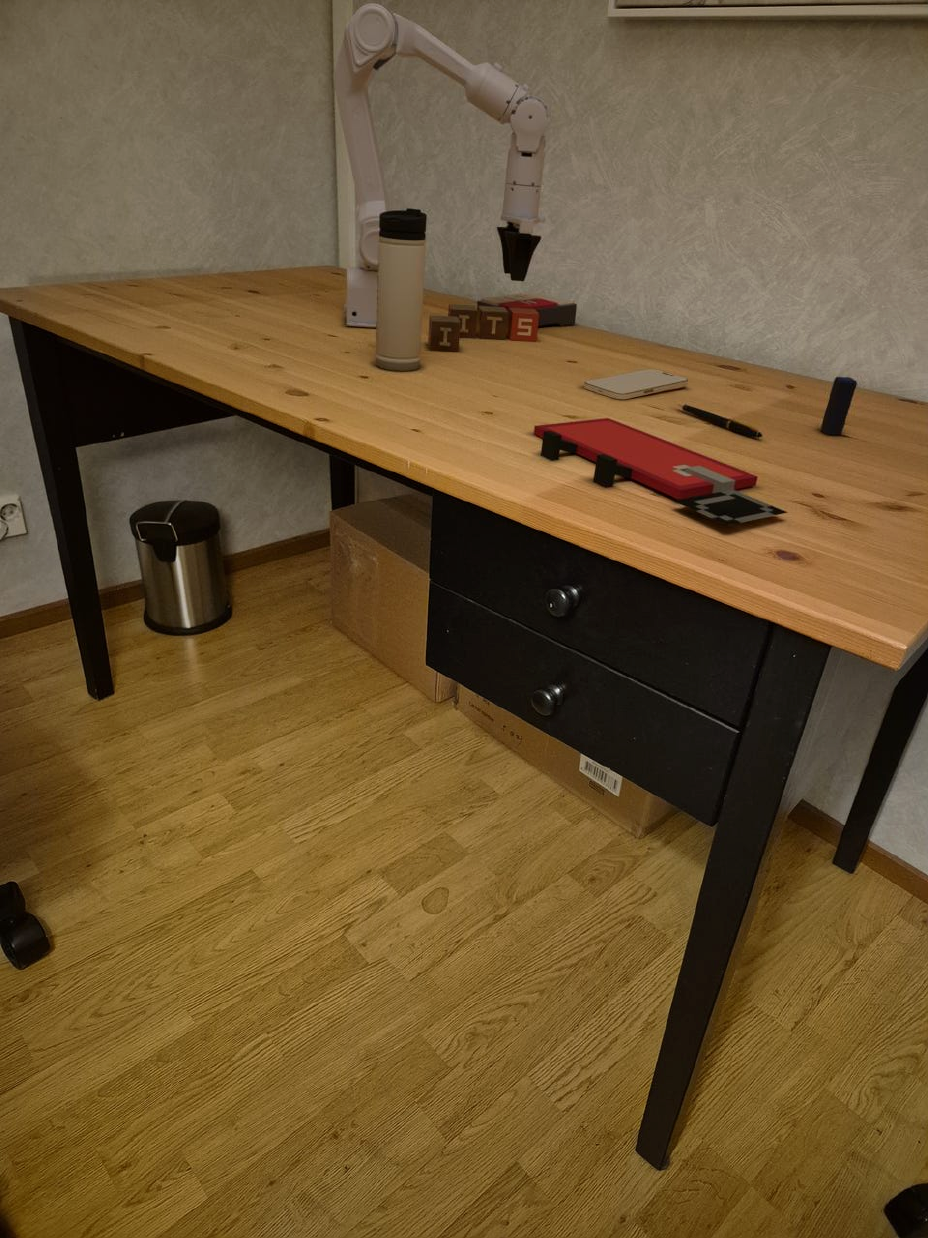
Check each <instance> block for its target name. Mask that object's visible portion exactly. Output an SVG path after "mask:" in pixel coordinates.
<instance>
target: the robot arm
mask: <svg viewBox="0 0 928 1238" xmlns="http://www.w3.org/2000/svg"><path fill="white" fill-rule="evenodd" d="M392 14H393V15H392ZM392 14H391V13H390V12H389V10H388V9H386V7H384V6H383V5H380V4H378V3H374V2H373V3H371V2H370V3H366V4H363V5H362V6H360V7H359V8H358V9H357V11H355V13H354V14H353V15H352V17H350V20H349V21H348V22H347V23H346V25H345V26H344V32H343V40H342V43H341V46H340V50H339V52H338V56H337V59H336V63H335V67H334V70H333V74H332V77H333V78H332V79H333V85H334V86H333V87H334V90H335V95H336V101H337V105H338V111H339V115H340V120H341V125H342V130H343V134H344V139H345V145H346V150H347V155H348V160H349V164H350V169H351V175H352V179H353V184H354V189H355V194H356V199H357V204H358V224H359V229H360V231H359V232H360V234H359V239H358V242H357V243H358V244H357V248H358V253H359V256H360V258H361V260H360V261H358V266H347V267H346V301H345V302H344V315H346V326H347V327H360V328H376V317H377V276H378V242H379V239H378V236H379V230H380V228H379V215H380V214H381V213H382V212H386V211H393V210H392V207H391V204H390V201H389V197H388V191H387V186H386V181H385V176H384V169H383V165H382V159H381V155H380V149H379V144H378V138H377V134H376V133H377V132H376V128H375V123H374V117H373V111H372V106H371V101H370V95H369V90H368V88H369V85H370V84H371V83H372V81H373V79H374V78H375V77H376V75H377V73H378V72H379V69H381V68H382V67H383V66H384V65H386V64H387V63H388V62H389V61H390V60H392V59H393V58H394V57H395V56H396V55H398V56H399V57H400V58H401V59H402V58H403V59H405V58H406V59H407V58H409V59H410V58H418V59H420V60H422V61H423V62H425V63H427V65H430V66H432V67H433V68H434V69H436V70H437V71H439V72H440V73H443V74H444V75H446V76H447V77H448V78H450V79H451V80H453V81H455V82H456V83H458V84H459V85H461V86H463V89H464V92H465V96H466V101H467V102H468V103H469V104H471V105H473V106H474V107H476V108H477V109H478V110H480V111H482V112H483V113H484V114H486V115H487V116H489V117H490V118H492V119H493V120H495V121H496V122H497V123H499V124H501V125H505V124H509V125H510V128H511V130H512V131H511V135H510V147H509V149H508V150H507V159H506V167H505V168H506V169H505V180H504V181H505V183H504V190H503V191H504V192H503V200H502V212H501V214H500V221H504V222H505V224H506V226H496V230H497V234H498V236H499V240H500V241H499V242H500V245H501V253H502V254H501V255H502V267H503V273H504V274H505V275H507V274H508V275H510V276H509V277H510V280H511V282H512V281H514V282H525V280H526V277H527V274H528V271H529V268H530V264H531V260H532V258H533V255H534V253H535V251H536V249H537V247H538V245H539V244H540V242H541V240H542V236H541V235H536V234H534V233H533V232H534V225H536V224H539V223H545V222H546V217H544V216H539V213H540V202H541V201H540V200H541V193H542V192H541V191H542V185H543V175H544V165H545V157H546V154H545V151H544V149H545V148H546V144H547V143H546V141H547V140H546V135H545V133H546V132H547V131H548V129H549V127H550V124H551V118H550V111H549V110H550V109H549V107H548V104H547V103H546V102H545V101H544V100H543V98H541V97H539V96H537V95H535V94H534V95H532V94H528V92H529V90H530V86H529V85H527V84H526V83H524V84H523V85H521V84H519V83H518V82H516V81H515V80H514V79H512V78H511V77H509V76H508V75H506V74H505V73H503V67H502V66H501V65H500V64H499V63H497V62H494V63H493V65H492V64H490V63H489V62H487V61H486V62H485V61H484V62H482V63H480V64H479V63H478V64H475V65H474V64H472V63H471V62H470V61H469V60H467V59H466V58H464V57H463V56H462V55H460V54H459V53H457V52H456V51H455V50H454V49H452V48H450V47H449V46H448V45H447V44H445V43H444V42H443V41H441V40H440V39H438V38H437V37H436V36H434V35H433V34H432V33H430V32H429V31H428V30H427V29H425V28H424V27H422V26H421V25H420V24H417V23H415V22H414V21H411V20H410V19H407V18H405V16H404V17H403V16H401V15H400V14H397V13H395V12H393V13H392ZM527 94H528V95H527Z"/></svg>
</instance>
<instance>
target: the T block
mask: <svg viewBox="0 0 928 1238" xmlns="http://www.w3.org/2000/svg"><path fill="white" fill-rule="evenodd" d="M507 321H508V311H507V310H506V309H505V308H504V307H490V306H479V307H478V318H477V331H476V335H477V336H478V338H479V339H481V340H482V339H485V340H501V341H502V340H503V341H506V340H507Z"/></svg>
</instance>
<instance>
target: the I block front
mask: <svg viewBox="0 0 928 1238" xmlns="http://www.w3.org/2000/svg"><path fill="white" fill-rule="evenodd" d="M460 325H461V322H460V320H459V319H458V317H451V316H448V315H434V314H430V315H429V321H428V339H427V345H428V349H429V351H433V352H449V353H450V352H452V353H459V352H460V340H461V339H460V338H461V337H460Z"/></svg>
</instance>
